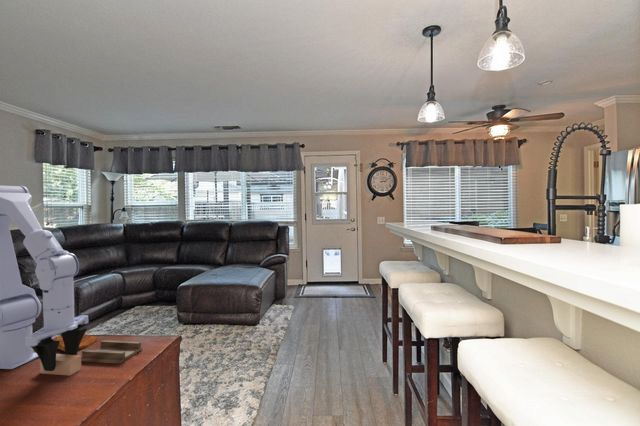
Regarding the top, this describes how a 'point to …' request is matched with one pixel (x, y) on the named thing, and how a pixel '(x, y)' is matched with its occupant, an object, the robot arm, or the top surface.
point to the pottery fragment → (84, 342)
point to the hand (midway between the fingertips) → (60, 364)
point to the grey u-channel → (112, 352)
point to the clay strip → (64, 365)
